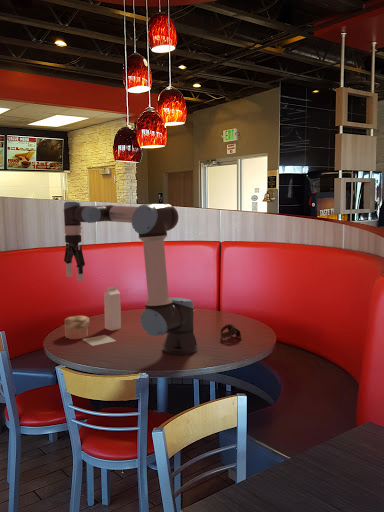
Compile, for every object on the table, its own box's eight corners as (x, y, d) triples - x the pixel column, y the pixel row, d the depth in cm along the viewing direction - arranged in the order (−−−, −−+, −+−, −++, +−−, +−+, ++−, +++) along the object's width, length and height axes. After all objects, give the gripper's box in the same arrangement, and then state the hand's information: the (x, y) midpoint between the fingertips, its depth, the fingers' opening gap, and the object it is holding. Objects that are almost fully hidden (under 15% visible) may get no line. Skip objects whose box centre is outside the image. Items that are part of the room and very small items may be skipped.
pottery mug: (243, 343, 220) (236, 329, 217) (225, 350, 222) (217, 337, 219) (242, 329, 231) (234, 316, 228) (225, 337, 233) (217, 324, 230)
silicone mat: (116, 341, 221) (116, 340, 221) (92, 346, 214) (92, 345, 214) (105, 335, 230) (105, 334, 230) (82, 340, 223) (82, 339, 223)
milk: (121, 329, 241) (120, 287, 238) (111, 331, 237) (110, 288, 234) (114, 326, 246) (113, 285, 243) (104, 329, 242) (103, 286, 239)
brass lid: (70, 330, 220) (70, 322, 220) (61, 324, 230) (60, 317, 229) (93, 326, 227) (93, 319, 227) (83, 321, 236) (83, 314, 236)
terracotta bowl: (90, 337, 228) (90, 326, 227) (70, 341, 222) (69, 329, 221) (82, 332, 236) (82, 321, 236) (62, 335, 230) (61, 324, 230)
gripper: (91, 235, 215) (92, 281, 217) (70, 232, 235) (72, 274, 238) (75, 236, 210) (77, 283, 213) (56, 233, 230) (57, 275, 233)
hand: (74, 278), depth 225 cm, fingers open, 13 cm apart
